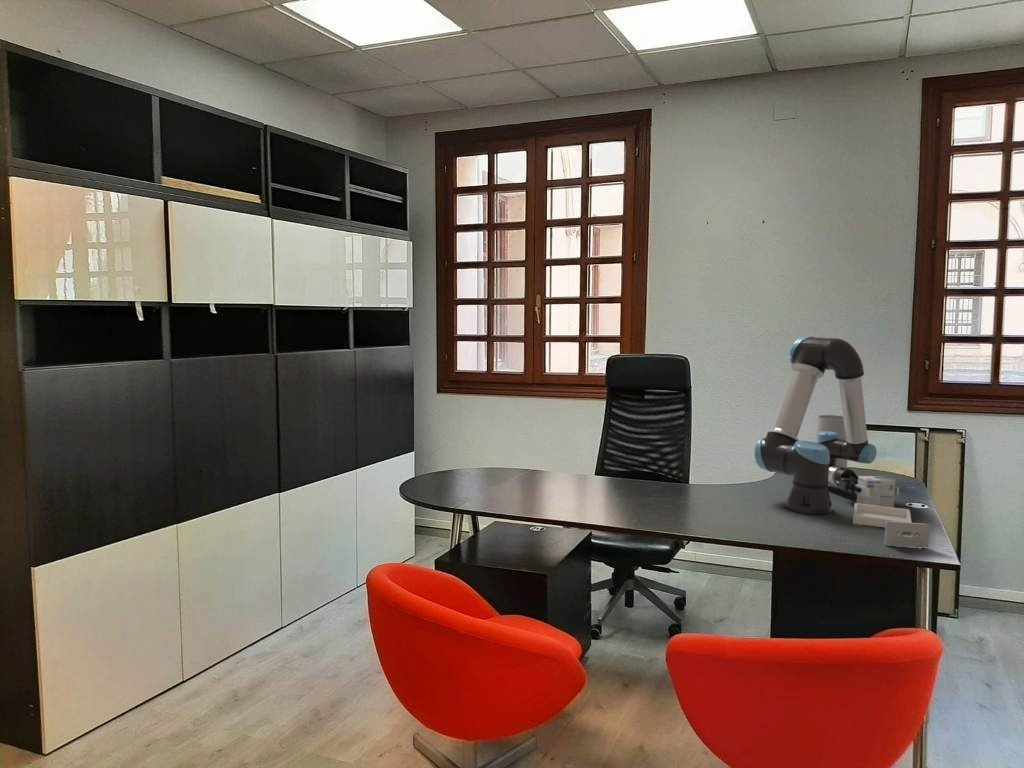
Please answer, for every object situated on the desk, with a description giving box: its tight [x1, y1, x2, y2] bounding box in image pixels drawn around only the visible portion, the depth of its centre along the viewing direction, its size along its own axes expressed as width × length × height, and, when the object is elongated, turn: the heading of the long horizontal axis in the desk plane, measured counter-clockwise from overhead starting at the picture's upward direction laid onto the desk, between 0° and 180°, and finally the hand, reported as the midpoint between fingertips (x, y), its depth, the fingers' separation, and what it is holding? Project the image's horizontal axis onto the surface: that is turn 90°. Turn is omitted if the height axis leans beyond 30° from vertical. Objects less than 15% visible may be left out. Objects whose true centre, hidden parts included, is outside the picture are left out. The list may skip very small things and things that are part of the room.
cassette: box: [883, 521, 931, 548], centre depth 223 cm, size 12×2×8 cm, turn 77°
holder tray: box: [852, 502, 913, 527], centre depth 249 cm, size 17×17×3 cm
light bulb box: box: [856, 475, 896, 508], centre depth 265 cm, size 11×7×11 cm, turn 92°
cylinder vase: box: [815, 414, 848, 469], centre depth 311 cm, size 12×12×25 cm
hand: (883, 491), depth 262 cm, fingers closed on light bulb box, 11 cm apart
